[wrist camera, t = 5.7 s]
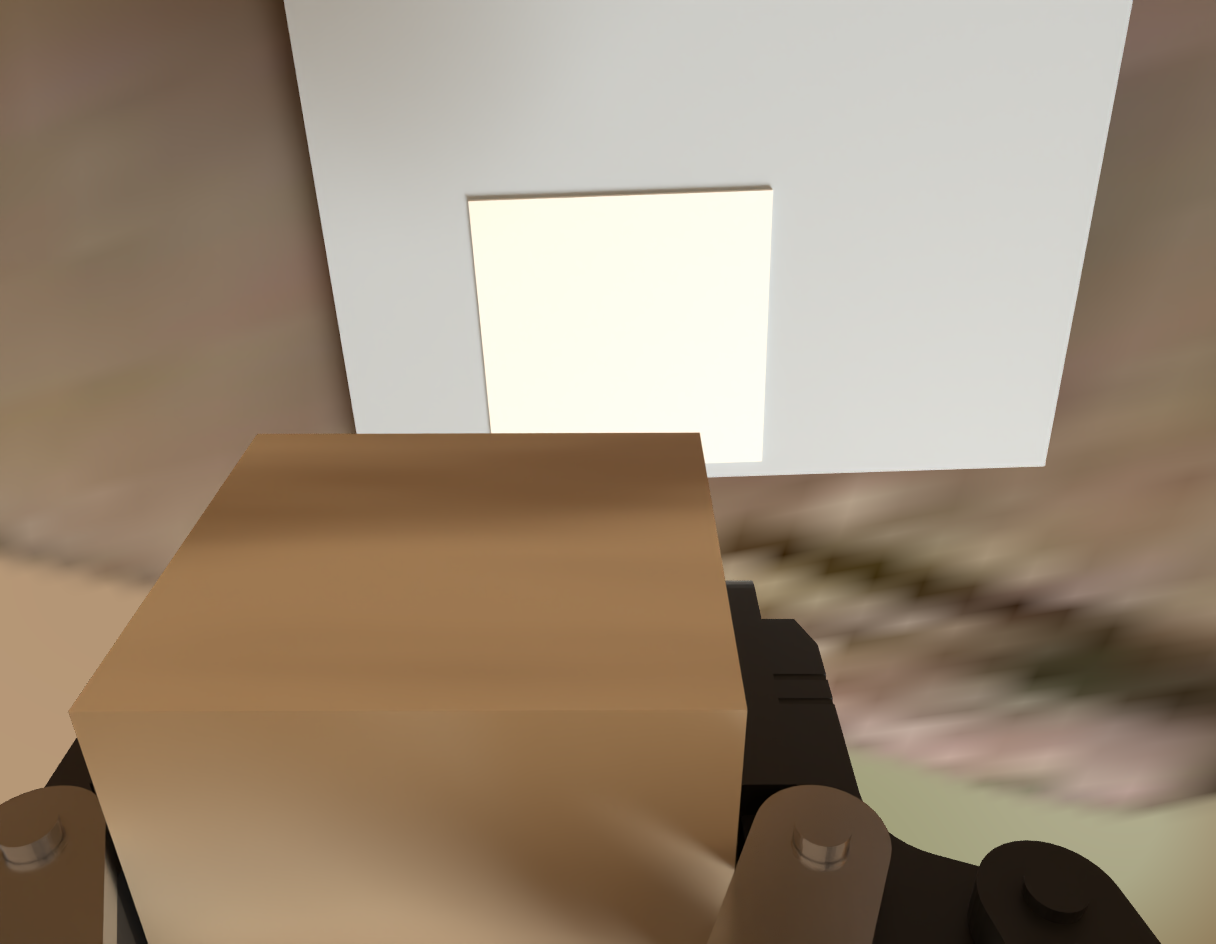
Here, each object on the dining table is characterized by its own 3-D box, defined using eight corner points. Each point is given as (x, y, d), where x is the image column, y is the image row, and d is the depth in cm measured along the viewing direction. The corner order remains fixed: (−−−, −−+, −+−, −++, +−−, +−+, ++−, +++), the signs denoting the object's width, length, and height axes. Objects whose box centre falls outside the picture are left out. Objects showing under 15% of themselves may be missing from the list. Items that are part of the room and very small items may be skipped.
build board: (297, -13, 22) (279, -9, 21) (1115, -45, 22) (1144, -44, 21) (374, 467, 28) (364, 491, 27) (1027, 445, 28) (1046, 468, 27)
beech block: (256, 434, 13) (68, 711, 8) (699, 432, 13) (747, 710, 8) (320, 760, 15) (203, 1101, 11) (685, 759, 15) (716, 1101, 11)
